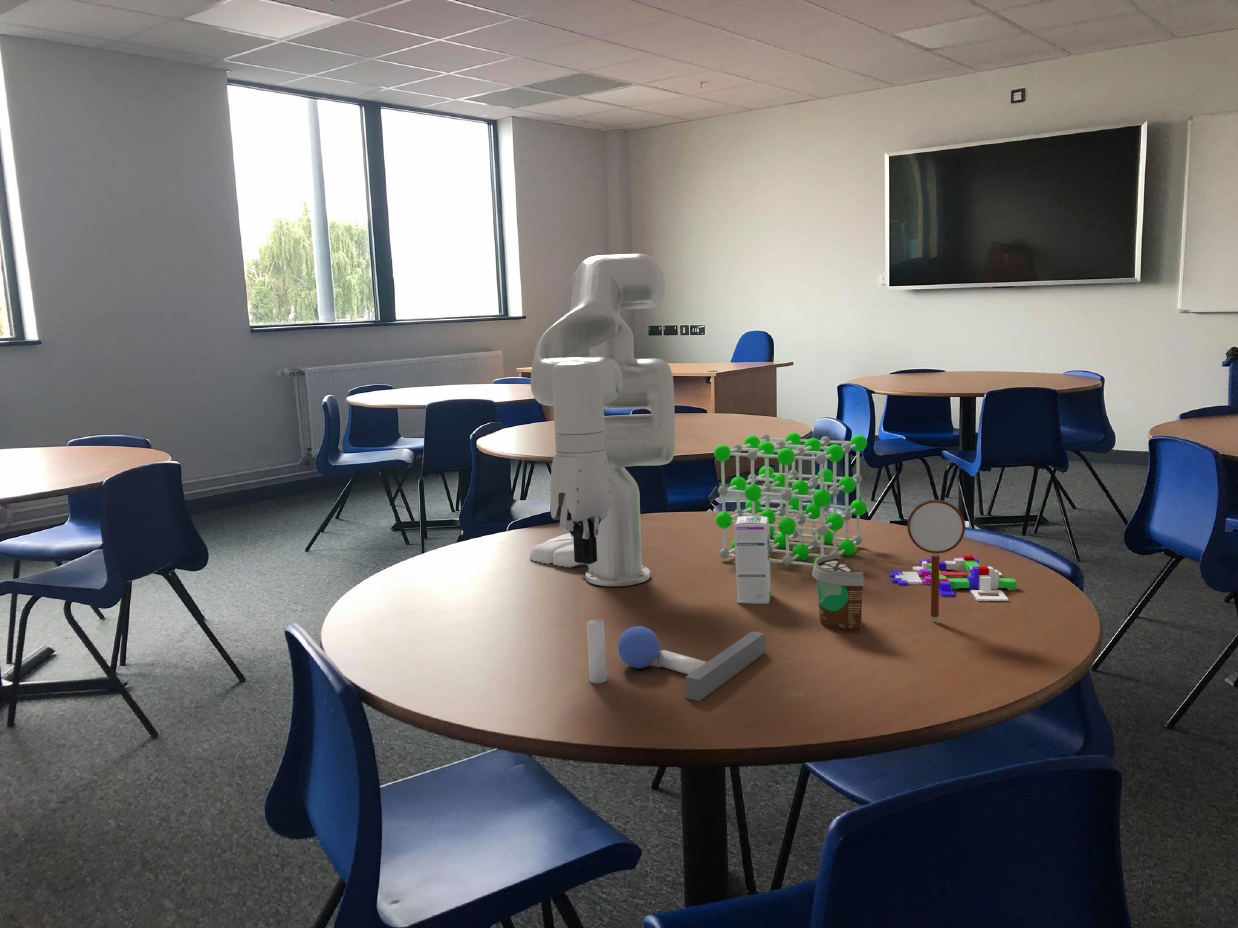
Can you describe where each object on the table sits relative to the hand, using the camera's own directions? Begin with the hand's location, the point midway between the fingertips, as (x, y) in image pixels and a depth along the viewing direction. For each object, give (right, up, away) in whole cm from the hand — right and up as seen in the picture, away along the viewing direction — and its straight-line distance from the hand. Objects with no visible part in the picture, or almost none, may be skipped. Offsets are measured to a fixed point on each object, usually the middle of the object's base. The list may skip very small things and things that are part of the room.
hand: (585, 561), depth 143 cm
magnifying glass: (+56, -11, +7) cm, 57 cm away
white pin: (+11, -13, -7) cm, 19 cm away
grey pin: (+2, -15, -11) cm, 19 cm away
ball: (+8, -12, -8) cm, 16 cm away
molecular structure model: (+41, -4, +51) cm, 66 cm away
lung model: (-1, -5, +59) cm, 59 cm away
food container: (+40, -11, +8) cm, 42 cm away
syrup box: (+29, -9, +22) cm, 38 cm away
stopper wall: (+20, -15, -11) cm, 28 cm away
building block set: (+66, -7, +29) cm, 72 cm away
